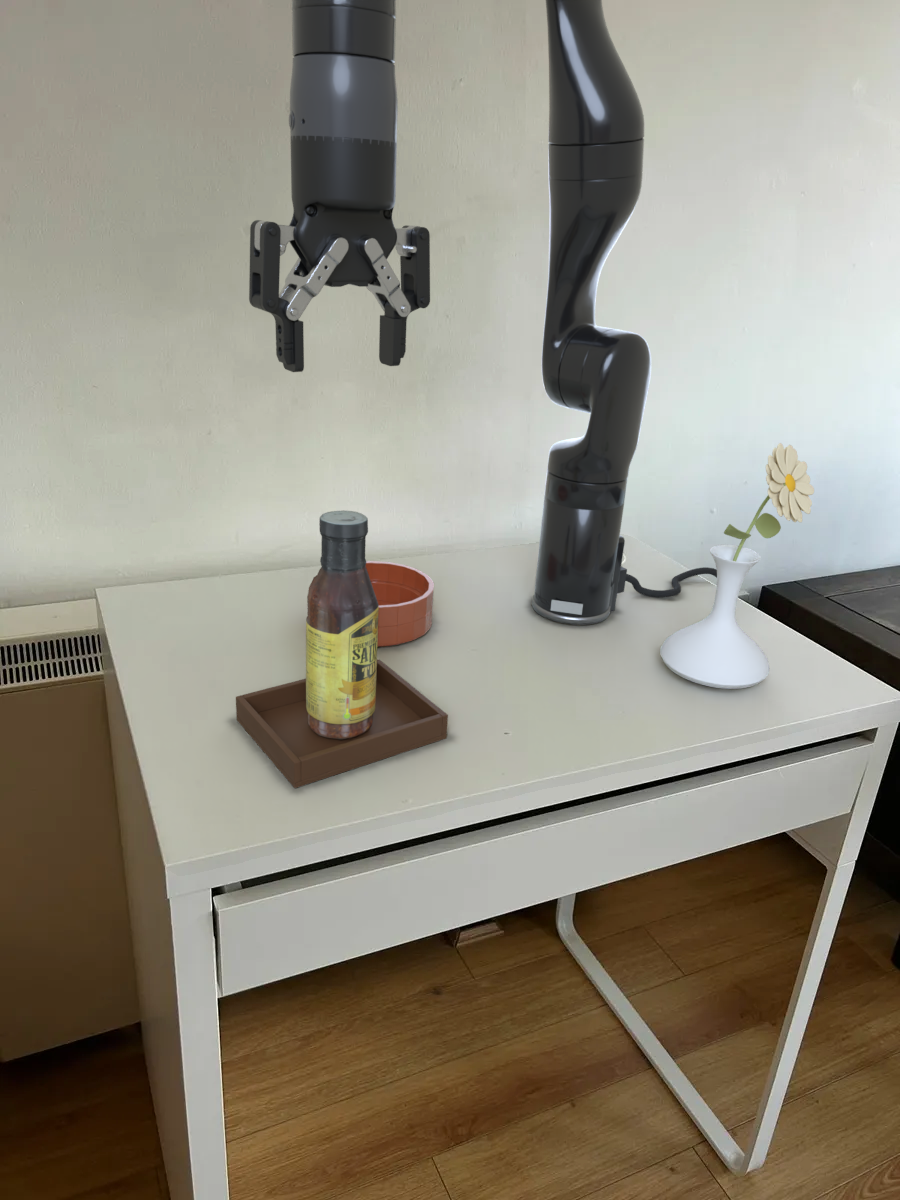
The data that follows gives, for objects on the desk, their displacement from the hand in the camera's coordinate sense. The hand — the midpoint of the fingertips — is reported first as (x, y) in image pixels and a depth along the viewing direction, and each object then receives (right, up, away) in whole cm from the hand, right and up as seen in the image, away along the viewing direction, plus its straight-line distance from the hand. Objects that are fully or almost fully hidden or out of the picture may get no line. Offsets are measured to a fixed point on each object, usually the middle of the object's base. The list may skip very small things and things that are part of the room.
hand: (343, 367), depth 70 cm
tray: (-2, -30, +12) cm, 32 cm away
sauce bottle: (-2, -30, +12) cm, 32 cm away
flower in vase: (+37, -26, +27) cm, 53 cm away
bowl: (0, -21, +33) cm, 39 cm away
